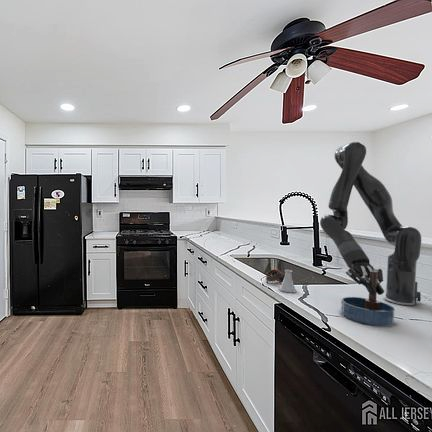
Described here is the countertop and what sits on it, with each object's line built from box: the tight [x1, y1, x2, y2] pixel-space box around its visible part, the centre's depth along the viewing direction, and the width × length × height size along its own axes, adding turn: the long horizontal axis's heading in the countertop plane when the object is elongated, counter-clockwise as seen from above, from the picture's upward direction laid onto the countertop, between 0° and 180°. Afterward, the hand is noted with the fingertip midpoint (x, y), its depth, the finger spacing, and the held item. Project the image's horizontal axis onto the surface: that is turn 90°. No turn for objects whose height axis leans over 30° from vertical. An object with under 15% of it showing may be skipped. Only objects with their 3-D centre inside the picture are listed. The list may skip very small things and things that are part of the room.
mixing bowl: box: [340, 296, 395, 327], centre depth 104 cm, size 15×15×6 cm
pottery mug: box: [265, 269, 285, 283], centre depth 150 cm, size 12×10×8 cm
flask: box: [279, 269, 297, 293], centre depth 136 cm, size 7×7×10 cm
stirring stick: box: [364, 271, 381, 311], centre depth 104 cm, size 4×4×14 cm
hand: (377, 293), depth 102 cm, fingers closed on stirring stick, 2 cm apart
